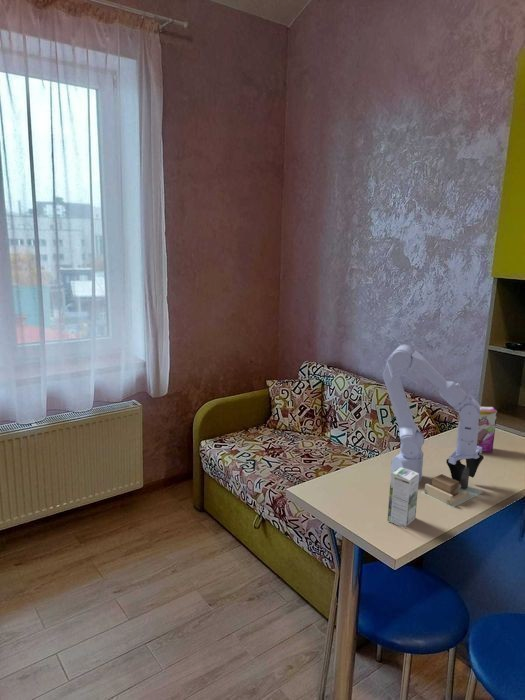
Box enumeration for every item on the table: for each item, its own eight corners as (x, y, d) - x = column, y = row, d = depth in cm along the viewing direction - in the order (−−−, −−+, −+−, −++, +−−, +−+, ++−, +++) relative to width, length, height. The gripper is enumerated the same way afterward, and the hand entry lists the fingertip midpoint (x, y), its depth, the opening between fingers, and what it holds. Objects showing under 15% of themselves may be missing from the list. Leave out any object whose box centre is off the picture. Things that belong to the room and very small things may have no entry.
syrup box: (396, 513, 139) (399, 466, 136) (416, 520, 135) (419, 472, 132) (386, 521, 135) (389, 473, 132) (407, 529, 131) (410, 479, 128)
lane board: (452, 510, 140) (453, 498, 139) (420, 494, 149) (421, 483, 148) (483, 494, 149) (484, 482, 148) (451, 480, 158) (452, 469, 157)
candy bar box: (461, 452, 180) (465, 409, 176) (457, 446, 185) (461, 405, 181) (493, 453, 179) (497, 410, 175) (488, 447, 184) (492, 406, 180)
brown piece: (448, 501, 143) (450, 482, 142) (431, 493, 148) (432, 474, 147) (474, 489, 150) (476, 470, 149) (456, 481, 155) (458, 463, 154)
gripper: (465, 448, 141) (461, 491, 144) (492, 437, 150) (488, 478, 152) (443, 440, 147) (440, 482, 150) (471, 430, 155) (467, 469, 158)
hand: (463, 479), depth 152 cm, fingers open, 7 cm apart
